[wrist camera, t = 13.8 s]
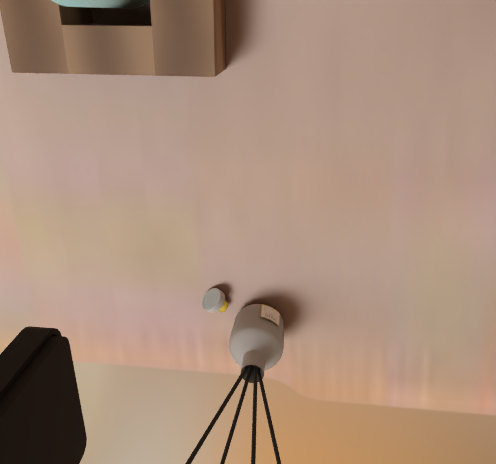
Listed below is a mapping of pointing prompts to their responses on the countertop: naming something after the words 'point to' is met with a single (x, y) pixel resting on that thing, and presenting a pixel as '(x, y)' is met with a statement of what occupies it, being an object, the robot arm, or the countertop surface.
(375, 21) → the countertop surface
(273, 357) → the reed diffuser
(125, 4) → the peg
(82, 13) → the socket block
